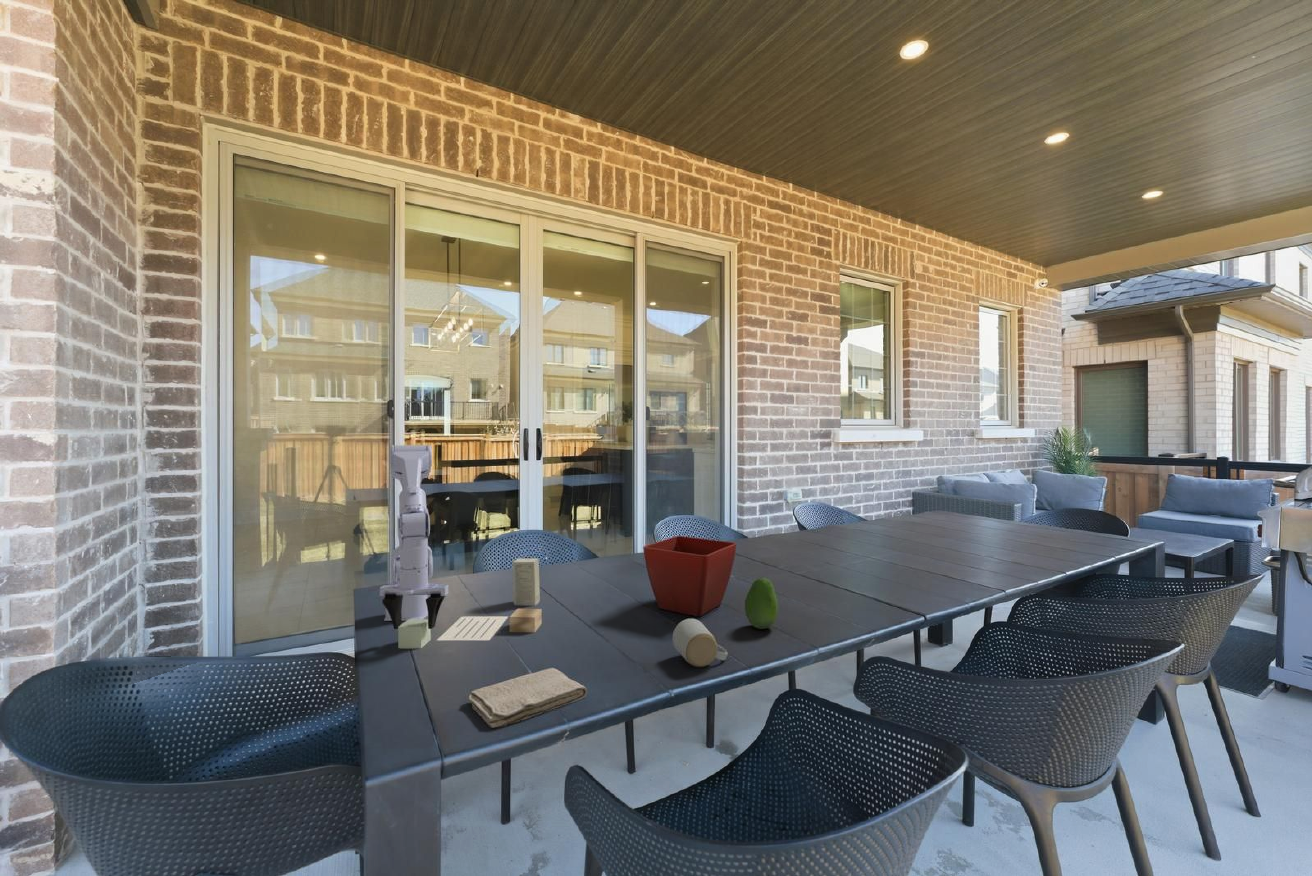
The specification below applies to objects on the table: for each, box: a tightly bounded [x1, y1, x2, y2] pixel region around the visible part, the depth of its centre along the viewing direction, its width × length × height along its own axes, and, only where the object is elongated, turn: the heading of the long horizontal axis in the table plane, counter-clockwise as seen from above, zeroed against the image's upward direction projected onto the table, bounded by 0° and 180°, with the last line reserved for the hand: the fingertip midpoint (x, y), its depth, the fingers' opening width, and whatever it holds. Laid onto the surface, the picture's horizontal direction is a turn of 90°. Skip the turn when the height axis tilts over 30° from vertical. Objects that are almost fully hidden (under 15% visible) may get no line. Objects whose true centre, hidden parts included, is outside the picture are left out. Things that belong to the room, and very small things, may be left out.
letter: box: [436, 615, 510, 642], centre depth 133 cm, size 12×16×1 cm
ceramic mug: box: [672, 618, 729, 668], centre depth 114 cm, size 11×8×8 cm
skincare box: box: [512, 557, 541, 607], centre depth 152 cm, size 6×4×12 cm
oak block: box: [509, 608, 543, 633], centre depth 133 cm, size 6×6×4 cm
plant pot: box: [642, 535, 737, 617], centre depth 149 cm, size 19×19×17 cm
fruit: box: [744, 577, 779, 630], centre depth 133 cm, size 8×8×12 cm
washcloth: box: [468, 667, 588, 728], centre depth 98 cm, size 12×18×3 cm, turn 130°
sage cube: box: [397, 618, 432, 649], centre depth 123 cm, size 5×5×5 cm
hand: (414, 627), depth 123 cm, fingers open, 7 cm apart
